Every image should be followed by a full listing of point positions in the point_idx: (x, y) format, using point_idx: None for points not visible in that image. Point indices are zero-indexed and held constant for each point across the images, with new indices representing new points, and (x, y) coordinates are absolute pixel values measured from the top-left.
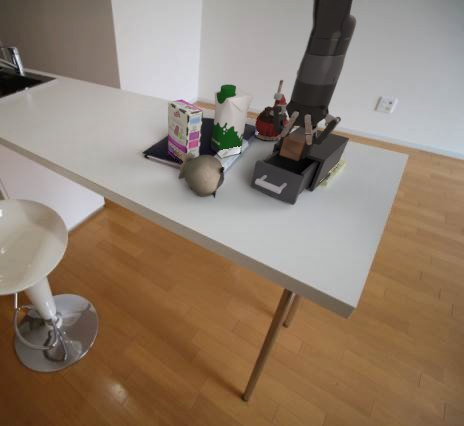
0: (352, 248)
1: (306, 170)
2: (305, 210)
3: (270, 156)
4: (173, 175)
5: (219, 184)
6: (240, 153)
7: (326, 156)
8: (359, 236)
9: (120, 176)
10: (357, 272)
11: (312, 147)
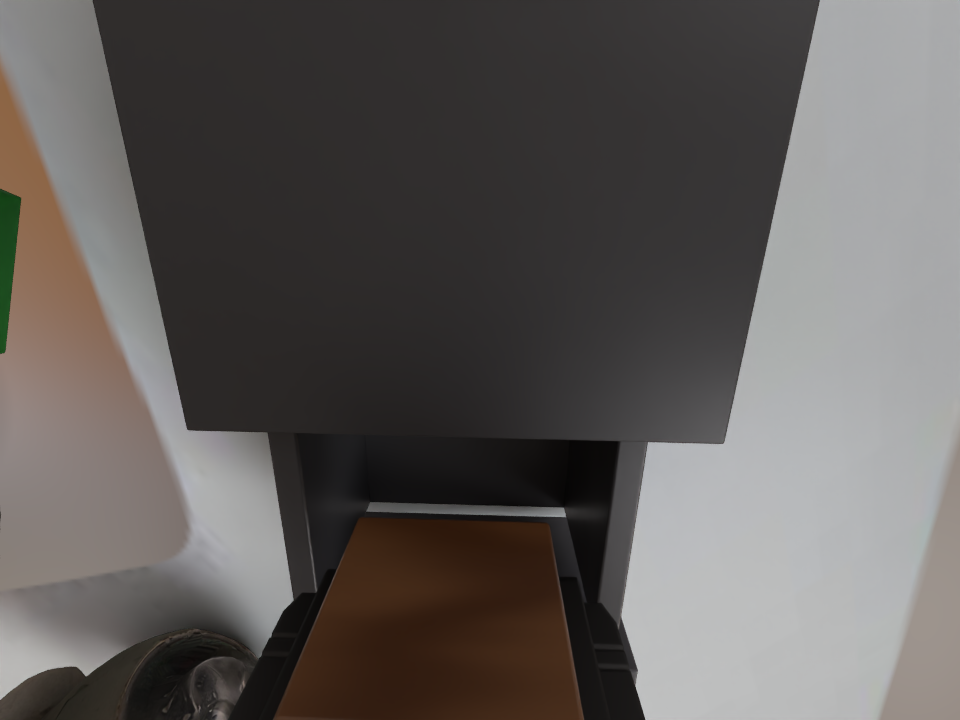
0: (857, 599)
1: (613, 583)
2: (640, 504)
3: (299, 558)
4: (29, 633)
5: None
6: (17, 205)
7: (720, 364)
8: (881, 525)
9: None
10: (877, 681)
11: (638, 713)
